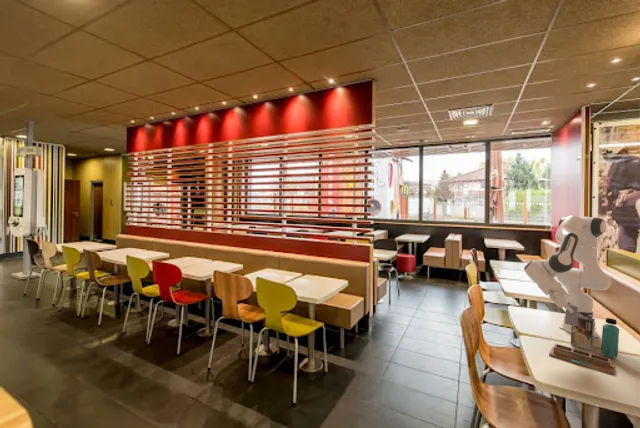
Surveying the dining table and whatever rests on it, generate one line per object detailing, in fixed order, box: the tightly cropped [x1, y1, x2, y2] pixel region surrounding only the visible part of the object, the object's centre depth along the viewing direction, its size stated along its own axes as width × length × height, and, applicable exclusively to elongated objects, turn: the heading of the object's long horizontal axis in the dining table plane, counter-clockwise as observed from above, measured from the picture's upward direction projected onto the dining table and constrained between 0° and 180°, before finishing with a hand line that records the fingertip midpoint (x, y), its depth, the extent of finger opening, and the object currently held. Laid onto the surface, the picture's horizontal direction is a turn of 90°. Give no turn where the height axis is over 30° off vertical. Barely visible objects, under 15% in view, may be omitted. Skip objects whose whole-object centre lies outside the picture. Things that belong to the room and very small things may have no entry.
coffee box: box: [570, 315, 596, 351], centre depth 170 cm, size 9×6×16 cm
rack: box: [548, 343, 615, 376], centre depth 153 cm, size 13×24×4 cm, turn 46°
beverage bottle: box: [600, 317, 620, 358], centre depth 158 cm, size 6×7×20 cm
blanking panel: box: [564, 304, 578, 326], centre depth 159 cm, size 3×4×10 cm, turn 45°
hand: (573, 311), depth 158 cm, fingers closed on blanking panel, 3 cm apart
